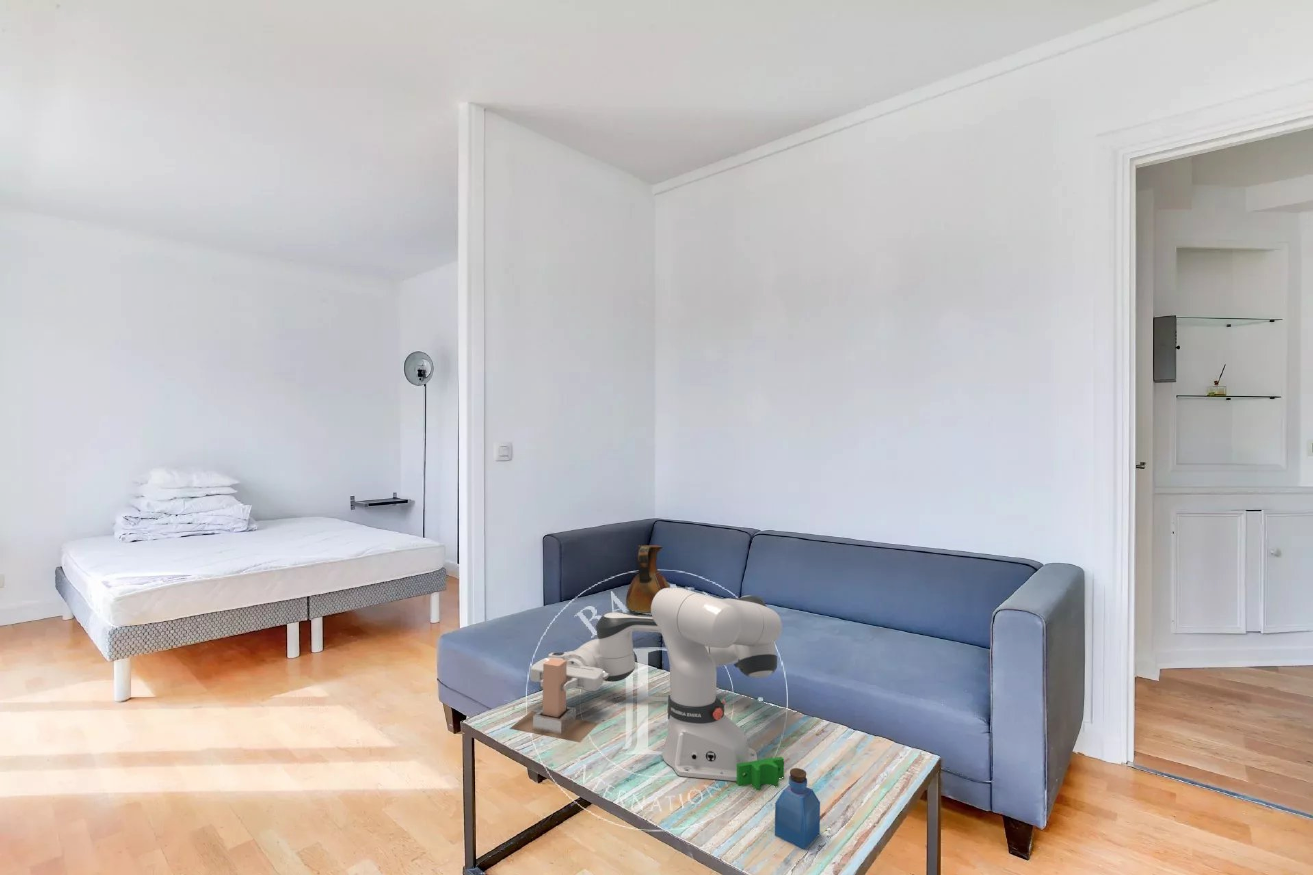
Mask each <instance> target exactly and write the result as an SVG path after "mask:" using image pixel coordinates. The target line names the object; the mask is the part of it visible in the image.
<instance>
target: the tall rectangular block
mask: <svg viewBox="0 0 1313 875" xmlns="http://www.w3.org/2000/svg"><path fill="white" fill-rule="evenodd" d="M566 673H567V660H561V659H554V658H551V659H550V660H548V661H547V662H545V663H544V664H543V687H542V709H543V711H542V714H543V715H548V716H554V717H559V716H560V715H561V714H562V713H563V712H564V711H565V710H566V707H567V691H561V684H562V683H563V682H566Z"/></svg>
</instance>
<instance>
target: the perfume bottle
mask: <svg viewBox="0 0 1313 875" xmlns="http://www.w3.org/2000/svg"><path fill="white" fill-rule="evenodd" d="M807 773H808V772H806V770H804V769H802V768H799V767H795V768H791V769H790V770H789V774H790V775H788V784H789V785H787V787H785V788H784V789H783V790H782V792H781V793H780V794H779V797H778V798H777V799H776V801H775V803H774V804H775V806H774V836H775V837H777V838H779V839H781V840H783V841H785V842H787V843H789V844H791V845H793V846H795V847H797V848H799V849H801V850H803V851H804V850H806V848H808V847H809V845H811V844H812V843H813V842H814V840H816V839H817V838H818V837H819V836H820V832H821V830H820V829H821V827H820V825H821V824H820V823H821V801H820V800H819V798H818V797H817V795H816V793H815V791H814V790H813V789H812V788H810V787H808V778H807V775H808V774H807ZM818 835H819V836H818Z"/></svg>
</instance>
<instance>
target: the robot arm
mask: <svg viewBox="0 0 1313 875" xmlns="http://www.w3.org/2000/svg"><path fill="white" fill-rule="evenodd" d="M651 615H652V616H651ZM651 615H644V614H631V613H622V612H618V611H617V612H615V611H613V612H608V613H604V614H603V615H601V617H600V618H599V620H598V621H597V623H596V625H595V630H596V636H597V638H595V639H591V640H589V641H587V642H585V643H583V644H582V645H580V646H579V647H578V648H577V649H575V650H569V651H564V652H550V653H549V654H548V655H547V657H545V658H541V659H540V660H539V661H537V662H535V663H534V664H532V666H530V670H529V678H530V681H531V682H536V683H540V687H541V688H543V664H544V663H545V662H547V661H548V660H550V659H551V658H554V659H561V660H567V673H566V682H563V683H562V684H561V691H566V692H567V691H570V690H572V689H573V690H574V689H577V690H584V691H588V692H589V691H591V692H594V691H598V690H599V689H600V688H601V686H603V683H604V681H605V682H609V683H610V682H620V681H622V680H625V679H627V678H628V677H630V675H631V674H632V673H633V672H634V671H635V669H636V662H635V661H636V659H635V652H634V643H633V642H634V641H633V636H632V635H633V632H646V633H647V632H649V633H650V632H651V633H660V634H661V636H662V639H663V642H664V644H665V645H664V646H665V649H666V653H667V657H668V658H667V659H668V662H669V695H668V698H667V706H666V707H667V719H668V725H667V726H668V727H667V732H666V737H665V738H666V739H665V742H664V743H665V744H664V746H663V750H662V753H661V756H662V759H663V761H664V762H665V763H666V764H668V765H669V767H671V768H672V769H673V770H674V772H675V774H677V775H678V777H679V776H680V777H689V778H697V779H698V778H699V779H708V780H709V779H710V780H719V781H720V780H721V781H731V782H732V781H733V782H737V764H739V763H745V762H751V761H757V760H758V755H757V753H756V751H755V750H754V749H753V748H750V747H749V745H748V739H747V736H746V732H745V731H744V729H742V727H740V726H738V724H736V723H735V722H734V721H733V720H732V719H731V718H729V717H728V716H727V715H726V714H725V705H726V700H725V698H724V699H723V700H722V701H721V699H719V697H718V696H717V668H718V667H724V666H726V665H730V664H733V666H734V667H735V668H738V670H739V671H740V672H741V673H742V674H744V675H745V676H746V677H749V678H750V677H751V678H756V679H762V678H765V677H767V676H769V675H771V674H772V673H775V671H776V670H777V668H778V656H777V655H776V653H777V652H776V641H777V640H779V638H780V636H781V634H782V631H783V624H782V618H781V617H780V615H779V614H778V613H777V611H776V610H773V609H772V608H769V607H768V606H767V604H766V602H765V600H764V599H763V598H761V597H759V596H758V595H743V596H741V597H739V598H735V599H734V598H729V597H728V598H719V597H714V596H711V595H706V594H704V593H699V592H696V591H693V590H689V589H686V588H682V587H670V588H664V589H662V590H660V591H659V592H658V593H657V594H656V595H655V597H654V599H653V601H652V604H651ZM744 774H745V773H744ZM744 774H743V775H744Z"/></svg>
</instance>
